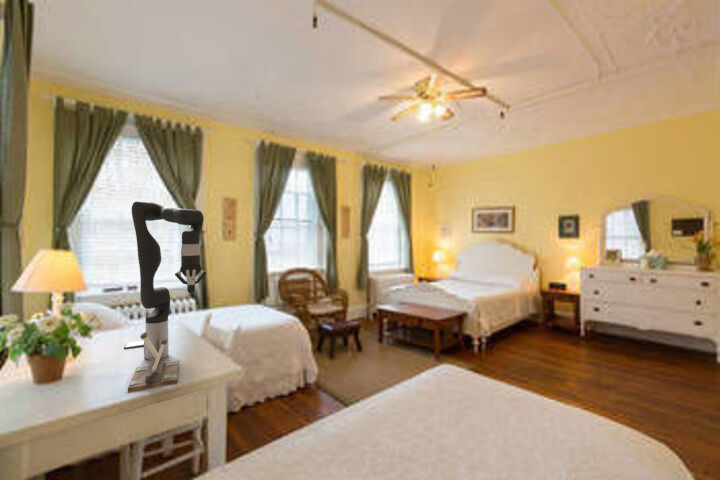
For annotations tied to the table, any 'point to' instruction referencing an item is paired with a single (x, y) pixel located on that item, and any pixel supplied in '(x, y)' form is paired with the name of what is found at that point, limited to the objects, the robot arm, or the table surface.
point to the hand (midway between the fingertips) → (191, 293)
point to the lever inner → (149, 344)
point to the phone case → (134, 344)
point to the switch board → (154, 375)
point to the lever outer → (159, 354)
